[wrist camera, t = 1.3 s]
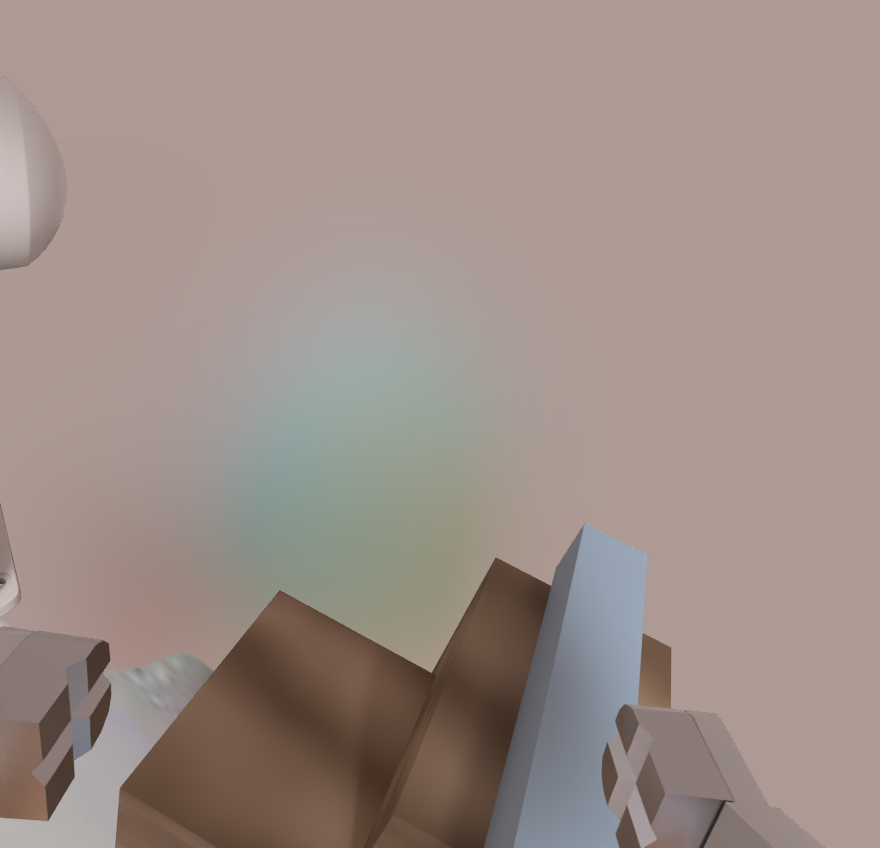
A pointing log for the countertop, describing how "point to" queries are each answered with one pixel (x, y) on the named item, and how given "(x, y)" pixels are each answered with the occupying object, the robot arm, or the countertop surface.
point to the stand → (350, 733)
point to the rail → (574, 700)
